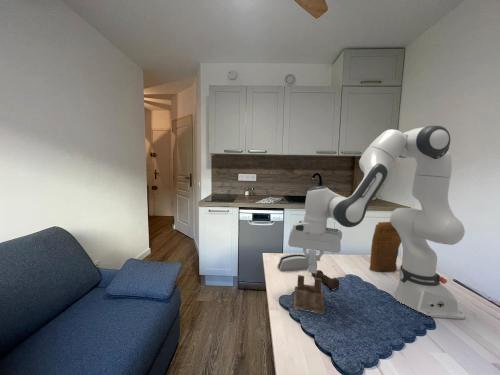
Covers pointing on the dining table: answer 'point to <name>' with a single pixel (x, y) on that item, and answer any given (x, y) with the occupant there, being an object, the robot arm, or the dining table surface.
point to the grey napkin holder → (293, 262)
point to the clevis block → (309, 296)
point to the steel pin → (312, 262)
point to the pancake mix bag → (384, 248)
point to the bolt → (327, 279)
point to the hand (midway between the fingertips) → (312, 259)
